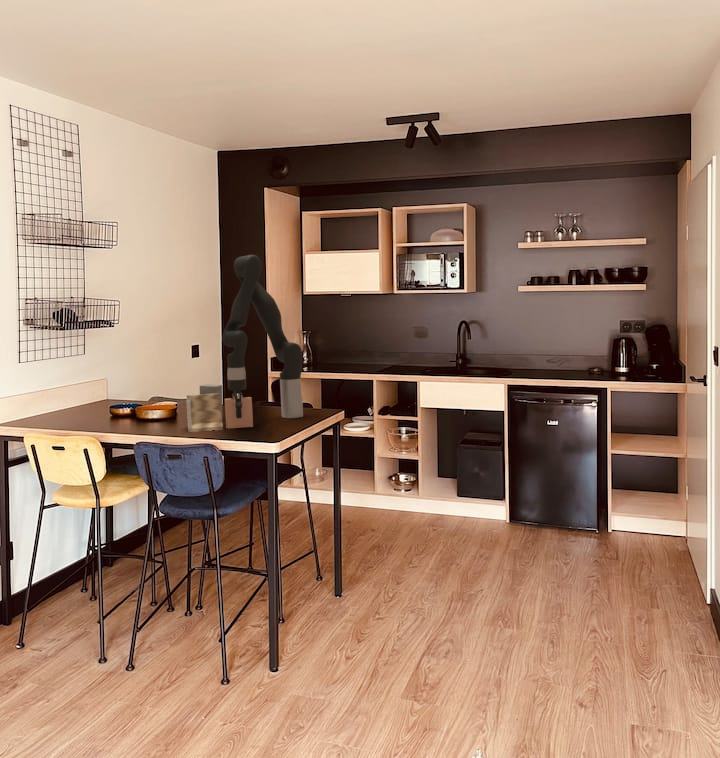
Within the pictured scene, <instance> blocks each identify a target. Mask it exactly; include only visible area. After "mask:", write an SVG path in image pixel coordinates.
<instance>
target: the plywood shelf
mask: <svg viewBox="0 0 720 758" xmlns="http://www.w3.org/2000/svg"><path fill="white" fill-rule="evenodd" d="M187 398H191V415H192V429H188V428H187V433H199V432H211V431H212V430H215V431H224V425H223V411H222V412H221V395H220V393H218V394H201V395H200V394H187V395H186V399H187ZM212 432H213V431H212Z"/></svg>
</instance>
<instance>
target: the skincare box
mask: <svg viewBox="0 0 720 758" xmlns="http://www.w3.org/2000/svg"><path fill="white" fill-rule="evenodd" d="M218 393H220V395H221V412H222V413H223V385H222V384H207V383H205V384H201V385H199V395H201V394H218Z"/></svg>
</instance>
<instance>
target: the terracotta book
mask: <svg viewBox="0 0 720 758" xmlns="http://www.w3.org/2000/svg"><path fill="white" fill-rule="evenodd" d="M252 399H253V398H252V397H251V396H248V397H247V396H246V397H243V398H242V409H241V412H242V418H236V408H235V405H234V399H233V397H232V398H231V397H228V398H224V411H225V413H224V414H225V427H226V429H227V428H228V429H238V428H239V429H240V428H253V427H254V418H253V400H252Z"/></svg>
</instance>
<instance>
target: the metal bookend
mask: <svg viewBox="0 0 720 758" xmlns="http://www.w3.org/2000/svg"><path fill="white" fill-rule="evenodd" d="M185 401H186V413H187V414H186V416H187V417H186V418H187V430H188V429H192V415H191V398H187V397H186V400H185Z"/></svg>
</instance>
